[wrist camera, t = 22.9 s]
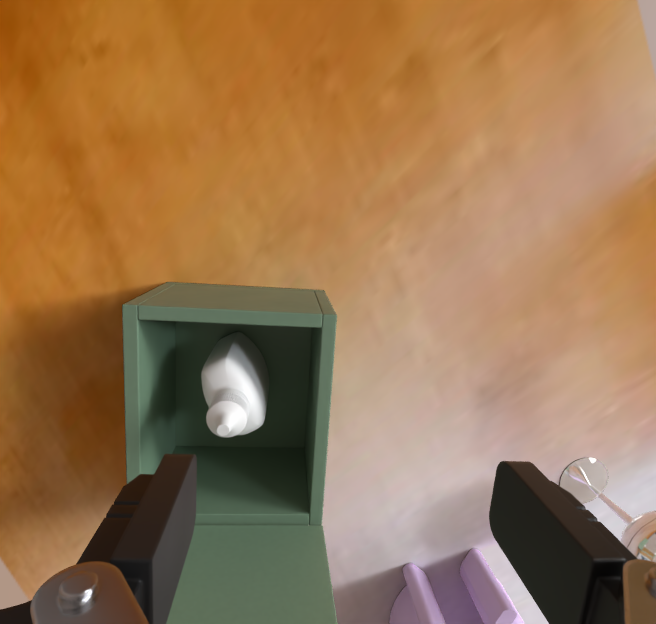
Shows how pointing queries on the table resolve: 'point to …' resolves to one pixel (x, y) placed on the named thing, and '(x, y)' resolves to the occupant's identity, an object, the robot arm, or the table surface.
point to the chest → (191, 407)
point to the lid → (255, 576)
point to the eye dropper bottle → (235, 386)
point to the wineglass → (611, 505)
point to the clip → (484, 588)
